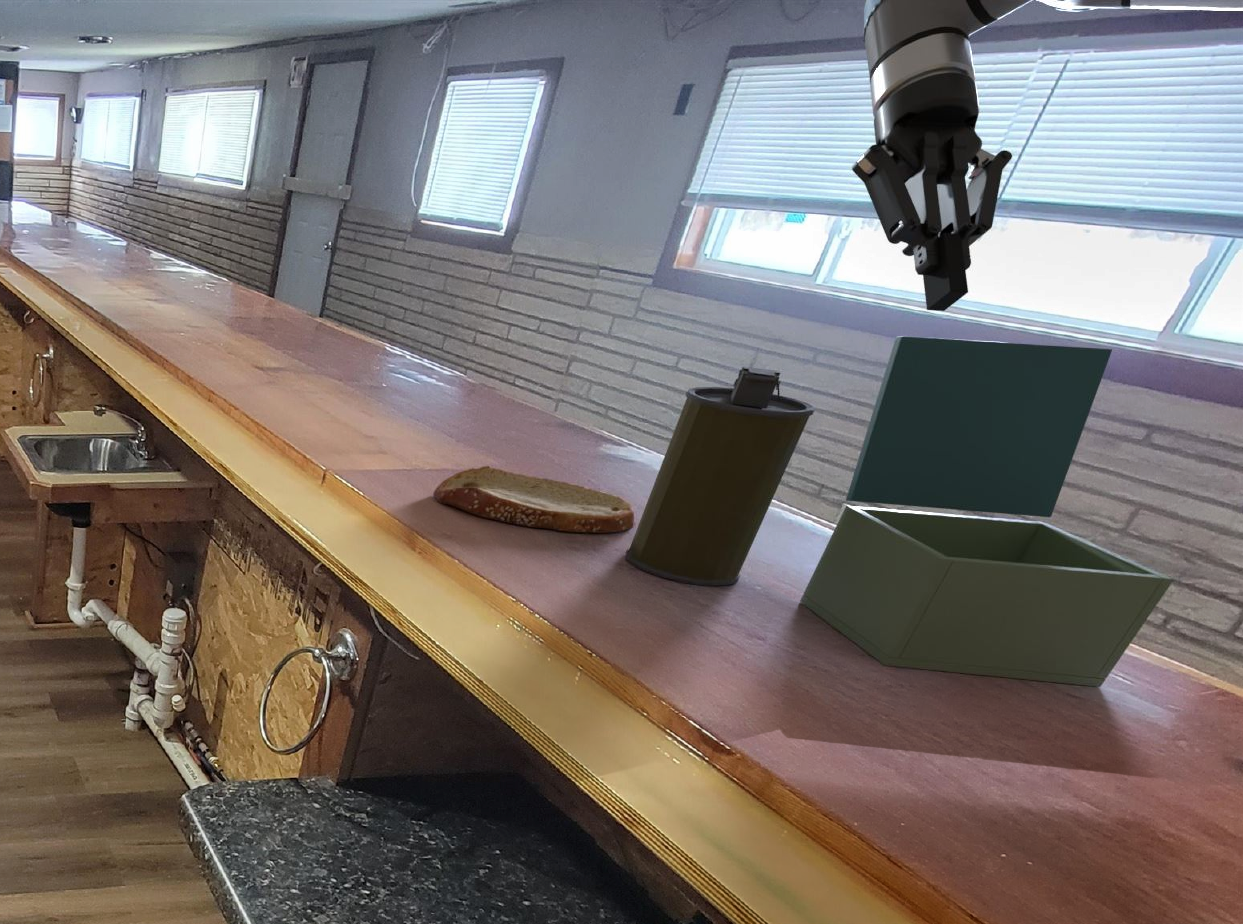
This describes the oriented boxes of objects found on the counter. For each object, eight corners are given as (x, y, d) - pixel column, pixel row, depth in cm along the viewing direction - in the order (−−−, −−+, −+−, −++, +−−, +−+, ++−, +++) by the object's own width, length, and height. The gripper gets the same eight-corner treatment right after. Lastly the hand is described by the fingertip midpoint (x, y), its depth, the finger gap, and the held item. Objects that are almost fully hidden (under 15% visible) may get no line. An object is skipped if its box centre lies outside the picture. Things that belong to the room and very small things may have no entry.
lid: (1113, 349, 83) (1067, 352, 88) (902, 335, 85) (867, 340, 90) (1051, 517, 87) (1010, 513, 92) (850, 500, 89) (820, 497, 94)
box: (1100, 687, 81) (1175, 579, 76) (884, 665, 83) (943, 559, 78) (986, 619, 93) (1044, 521, 88) (799, 601, 95) (845, 505, 90)
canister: (740, 595, 96) (834, 388, 86) (622, 570, 100) (697, 371, 90) (736, 561, 104) (822, 369, 94) (627, 540, 108) (697, 354, 98)
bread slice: (649, 528, 112) (661, 497, 110) (534, 545, 106) (545, 512, 104) (525, 482, 126) (534, 453, 124) (417, 494, 120) (425, 464, 118)
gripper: (962, 134, 100) (988, 330, 94) (825, 128, 102) (842, 321, 96) (1029, 70, 93) (1062, 278, 87) (880, 65, 94) (903, 269, 88)
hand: (947, 300), depth 91 cm, fingers closed
